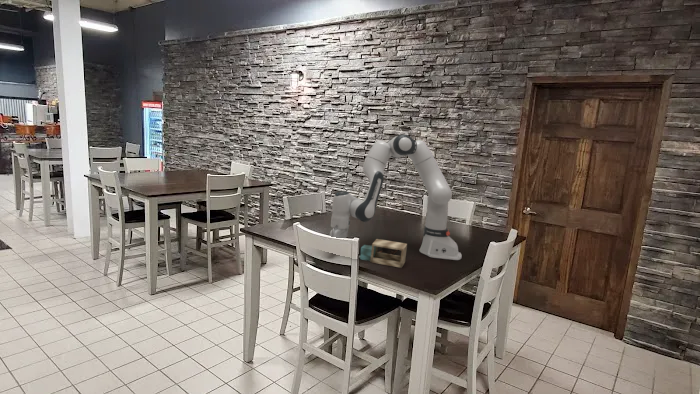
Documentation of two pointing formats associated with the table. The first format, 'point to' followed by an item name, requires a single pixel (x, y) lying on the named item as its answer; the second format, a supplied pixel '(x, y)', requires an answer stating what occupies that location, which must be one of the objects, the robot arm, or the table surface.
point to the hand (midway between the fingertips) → (337, 249)
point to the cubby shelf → (388, 256)
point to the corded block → (366, 252)
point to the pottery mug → (388, 251)
